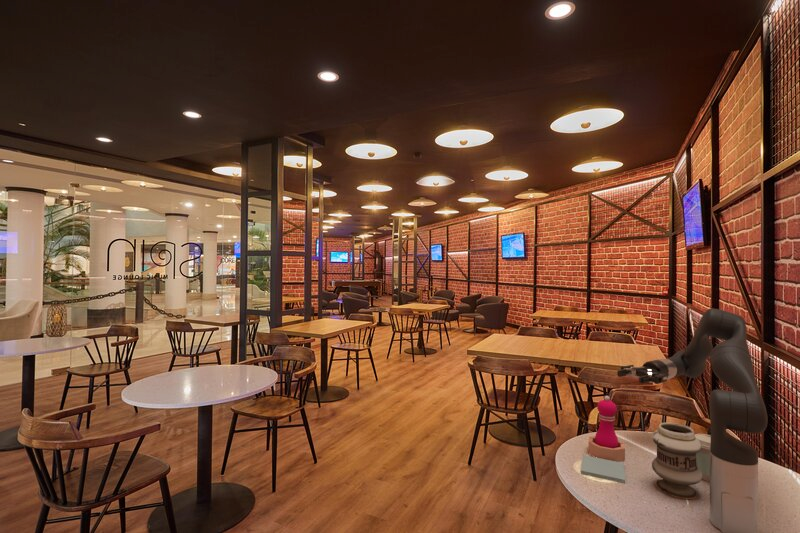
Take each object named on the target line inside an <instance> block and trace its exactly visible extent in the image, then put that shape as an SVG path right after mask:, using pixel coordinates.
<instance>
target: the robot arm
mask: <svg viewBox="0 0 800 533" xmlns="http://www.w3.org/2000/svg"><path fill="white" fill-rule="evenodd" d="M710 337H712V338H715V339H719V340H722V342H720V343H718V344H716V346H713V343H712V340H711V339H710ZM747 338H748V337H747V324H746V321H745V319H744V317H742V316H741V315H740V314H736V313H733V312H729V311H727V310H722V309H719V308H718V309H717V308H713V307H712V308H707V309H706V311H705V312H704V313H703V314H702V316H701V318H700V320H699V322H698V325H697V327H696V329H695V331H694V334H693V337H692V339H691V341H690V342H689V344H688V345H687V346H686V347H685V348H684V349H680V350H678V351H677V352H676V353H674V354H673V355H672V356H671V357H670V356H669V357H668V358H658V359H654V360H649V361H646V362H644V363H643V364H642V366H635V365H634V364H629V365H624V366H620V369H619V370H617V372H616V373H617V374H616V375H617V377H618V378H621V377H626V376H630V377H632V378H639V379H638V381H639V382H638V383H639V384H646V383H650V384H651V383H654V384H655V385H659V384H663V383H665V382H668V380H670V379H672V378H677V377H680V376H682V375H683V374H684V376H686V377H687V378H691V379H695V378H698V377H700V376H701V375H702V374H703V373H704V371H705V370H706V364H707V360H708V359H709V357H710V363H711V369H712V372H713V373H714V375H715V376H716V377H717V378H718V380H720V382H722V384H725V385H726V386H727V387H728V388H729V389H731V390H732V391H731V390H726V389H725V390H724V389H717V388H716V389H713V390H712V391H711V392H710V395H709V400H708V402H709V405H708V406H709V407H708V408H709V421H710V422H709V423H710V435H711V444H710V482H709V522H710V523H711V524H712V525H713V526H714V527H716V528H717V529H718V530H720V531H721V533H758V526H759V525H758V523H759V522H758V515H759V514H758V511H759V510H758V508H759V506H758V505H759V502H758V500H759V499H758V498H759V496H758V495H759V454H758V450H757V449H756V448H755V447H753V446H752V445H750V444H748V443H747V442H744V441H742V440H740V439H739V438H736V437H735V436H733V435H732V434H730V433H729V431H727V430H732V431H737V432H743V433H748V434H763V432H765V431H766V429H767V427H768V423H769V422H768V421H769V420H768V411H767V408H766V404H765V401H764V399H763V396H762V393H761V392H760V388H759V385H758V384H757V378H756V374H755V370H754V369H755V368H754V365H753V360H752V356H751V353H750V351H749V347H748V346H749V345H748V340H747Z"/></svg>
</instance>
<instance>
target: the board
mask: <svg viewBox="0 0 800 533" xmlns="http://www.w3.org/2000/svg"><path fill="white" fill-rule="evenodd" d="M580 474H581V475H585V476H590V477H594V478H598V479H603V480H608V481H613V482H617V483H620V484H621V483H622V484H626V474H625V464H624V462H622V461H619V462H616V461H611V460H606V459H601V458H596V457H594V456H592V455H590V456H589V455H586V454H585V455H584V454H582V461H581V467H580Z"/></svg>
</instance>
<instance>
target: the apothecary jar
mask: <svg viewBox="0 0 800 533" xmlns="http://www.w3.org/2000/svg"><path fill="white" fill-rule="evenodd" d="M651 435H652V436H651V437H652V438H651V439H652V441H653V443H654V444H655V445H656V456H655V458H654V459H652V461H651V468H652V470H653V472H654V473H655V474H656V475H657V476H658V477H660V478H661V479H658V480H657V481H656V482H655V486H656V488H657V489H658V490H659V491H661V492H663V493H666V495H669V496H672V497H674V498H677V499H681V500H682V499H684V500H692V499H695V498H697V496H698V494H697V491H696V490H695V489H694V488H693V487H692V486H695V485H696V484H699V483H700V482H702V480H703V479H702V473H701V471H700V469H699V468H698V467H697V464H696V453H697V452H699V451H700V450H701V443H700V441H699V440H698V439H697V438H696V437H695V431H694V429H693V428H691V427H690V426H687V425H685V424H681V423H676V422H661V423H660V424H658V429H656V430H655V431H654V432H653V433H652V434H651Z"/></svg>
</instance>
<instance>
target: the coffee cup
mask: <svg viewBox="0 0 800 533" xmlns="http://www.w3.org/2000/svg"><path fill="white" fill-rule="evenodd" d="M694 435H695V437H696V438H697V439H698V440H699V441H700V443H701V450H700V451H699V452H697V453H696V464H697V467H698V468H699V469H700V471H701V473H702V479H701V480H703V481H706V482H709V483H710V444H711V434H707V433H696V434H695V433H694Z"/></svg>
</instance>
